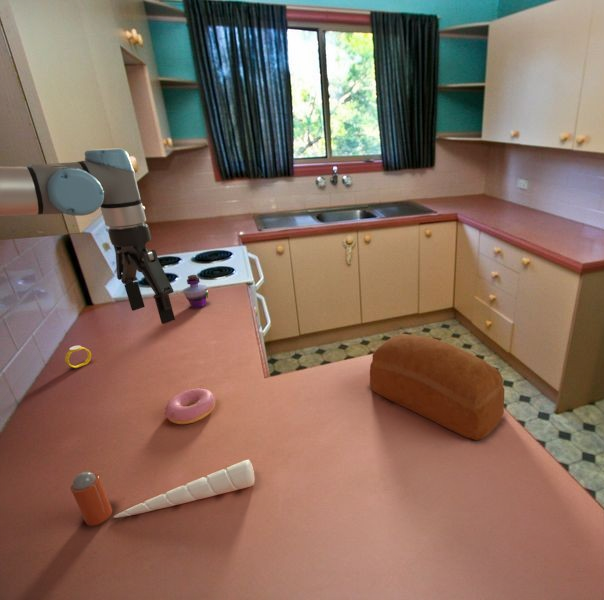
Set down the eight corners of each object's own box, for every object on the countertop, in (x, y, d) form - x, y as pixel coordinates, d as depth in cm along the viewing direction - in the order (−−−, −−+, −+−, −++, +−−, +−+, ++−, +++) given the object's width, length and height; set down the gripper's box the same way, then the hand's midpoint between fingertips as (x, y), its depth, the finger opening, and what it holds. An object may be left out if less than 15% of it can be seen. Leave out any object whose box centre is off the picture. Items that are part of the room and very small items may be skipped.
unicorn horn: (120, 502, 78) (112, 482, 76) (255, 472, 84) (251, 453, 82) (112, 524, 74) (103, 504, 72) (255, 491, 80) (250, 471, 78)
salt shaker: (81, 520, 75) (61, 478, 71) (104, 503, 78) (87, 462, 74) (93, 529, 73) (74, 487, 69) (117, 511, 76) (100, 470, 72)
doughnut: (216, 420, 98) (212, 406, 97) (163, 432, 95) (159, 417, 93) (217, 394, 108) (214, 380, 106) (170, 404, 105) (165, 390, 103)
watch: (72, 372, 120) (65, 353, 117) (67, 369, 121) (60, 351, 118) (95, 362, 124) (88, 344, 122) (89, 359, 126) (83, 342, 123)
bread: (478, 447, 88) (482, 384, 82) (365, 390, 108) (361, 336, 102) (508, 413, 98) (514, 355, 92) (399, 366, 117) (397, 316, 111)
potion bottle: (215, 304, 160) (209, 275, 156) (192, 312, 155) (185, 281, 150) (204, 299, 166) (198, 270, 161) (182, 306, 160) (175, 276, 155)
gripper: (176, 228, 87) (198, 321, 95) (118, 215, 100) (142, 298, 109) (138, 236, 81) (165, 334, 90) (82, 222, 95) (110, 308, 103)
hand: (152, 315), depth 99 cm, fingers open, 13 cm apart
